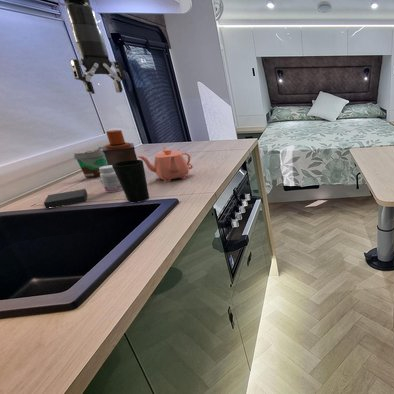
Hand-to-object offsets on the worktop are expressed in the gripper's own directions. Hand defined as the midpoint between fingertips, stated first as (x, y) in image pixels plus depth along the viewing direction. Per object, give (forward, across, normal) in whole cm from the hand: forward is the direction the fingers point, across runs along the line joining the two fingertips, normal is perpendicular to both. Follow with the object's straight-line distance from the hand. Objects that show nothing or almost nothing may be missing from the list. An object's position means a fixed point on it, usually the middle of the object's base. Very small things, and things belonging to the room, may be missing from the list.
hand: (106, 93), depth 102 cm
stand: (+31, +23, +7) cm, 40 cm away
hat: (+19, 0, -2) cm, 19 cm away
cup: (+31, +13, +26) cm, 43 cm away
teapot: (+31, -5, +15) cm, 35 cm away
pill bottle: (+31, +12, +10) cm, 35 cm away
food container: (+31, +2, -15) cm, 35 cm away
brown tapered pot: (+31, 0, -2) cm, 31 cm away
